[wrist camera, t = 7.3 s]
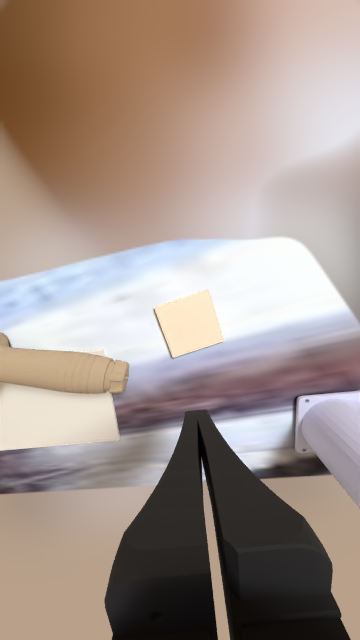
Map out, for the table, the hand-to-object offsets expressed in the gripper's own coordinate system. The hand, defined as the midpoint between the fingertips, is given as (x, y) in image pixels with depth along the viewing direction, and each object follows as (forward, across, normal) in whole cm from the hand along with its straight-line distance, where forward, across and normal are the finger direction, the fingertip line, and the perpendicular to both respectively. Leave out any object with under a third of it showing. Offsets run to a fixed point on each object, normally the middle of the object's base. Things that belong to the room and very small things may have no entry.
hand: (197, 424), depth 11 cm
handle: (+8, +6, 0) cm, 10 cm away
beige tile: (+10, 0, -4) cm, 11 cm away
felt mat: (+10, +20, +4) cm, 22 cm away
